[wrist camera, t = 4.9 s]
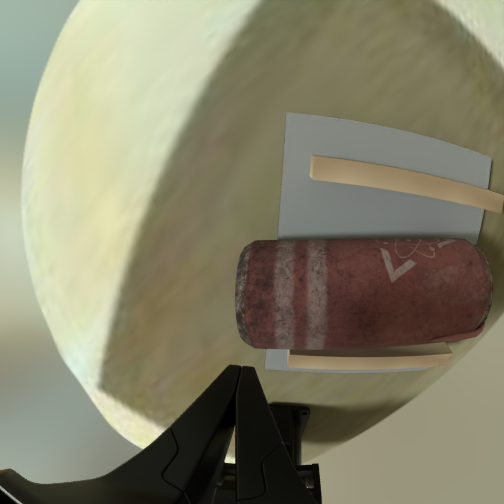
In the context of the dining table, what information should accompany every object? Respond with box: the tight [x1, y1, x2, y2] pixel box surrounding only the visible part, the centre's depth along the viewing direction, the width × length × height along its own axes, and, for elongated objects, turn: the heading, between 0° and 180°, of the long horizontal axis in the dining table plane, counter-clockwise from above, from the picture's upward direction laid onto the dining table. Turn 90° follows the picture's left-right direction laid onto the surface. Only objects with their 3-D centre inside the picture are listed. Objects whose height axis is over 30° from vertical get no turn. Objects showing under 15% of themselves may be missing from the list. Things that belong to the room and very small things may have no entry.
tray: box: [265, 113, 504, 373], centre depth 17 cm, size 18×14×3 cm
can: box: [235, 238, 493, 350], centre depth 15 cm, size 6×6×14 cm
